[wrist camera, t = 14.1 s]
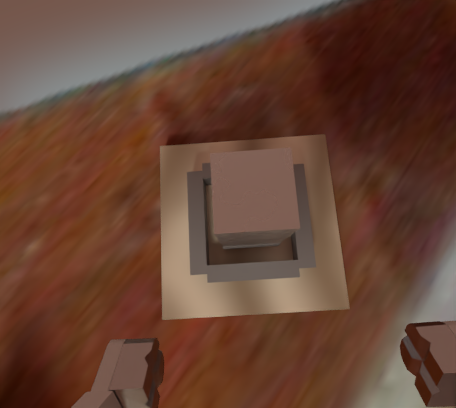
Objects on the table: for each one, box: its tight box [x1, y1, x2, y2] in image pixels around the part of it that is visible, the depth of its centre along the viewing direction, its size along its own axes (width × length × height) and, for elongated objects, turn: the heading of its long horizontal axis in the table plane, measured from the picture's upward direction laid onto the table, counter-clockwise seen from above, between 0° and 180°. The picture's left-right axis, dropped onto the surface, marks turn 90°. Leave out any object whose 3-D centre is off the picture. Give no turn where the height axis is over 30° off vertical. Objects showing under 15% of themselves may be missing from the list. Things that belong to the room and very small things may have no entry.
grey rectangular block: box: [210, 148, 300, 249], centre depth 20 cm, size 4×4×10 cm
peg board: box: [160, 134, 350, 320], centre depth 24 cm, size 14×14×4 cm
